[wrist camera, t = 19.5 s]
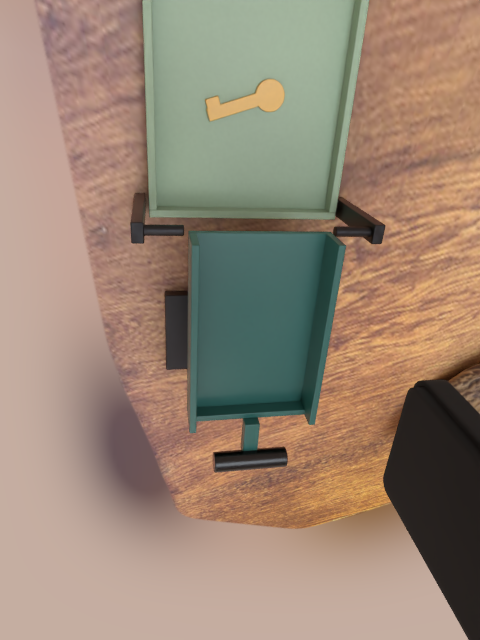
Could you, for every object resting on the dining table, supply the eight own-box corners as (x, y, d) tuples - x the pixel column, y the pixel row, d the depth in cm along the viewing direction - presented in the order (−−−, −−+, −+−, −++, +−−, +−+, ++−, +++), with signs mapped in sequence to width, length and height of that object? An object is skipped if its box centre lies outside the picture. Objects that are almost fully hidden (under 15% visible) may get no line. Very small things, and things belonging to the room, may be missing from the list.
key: (287, 107, 34) (286, 106, 35) (281, 75, 33) (279, 74, 33) (212, 130, 34) (211, 130, 34) (203, 99, 33) (203, 99, 33)
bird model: (415, 473, 53) (410, 475, 48) (382, 429, 55) (374, 428, 51) (579, 361, 48) (590, 353, 44) (535, 319, 51) (540, 308, 47)
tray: (328, 214, 40) (335, 219, 38) (149, 212, 37) (149, 217, 36) (382, -142, 29) (393, -153, 28) (136, -182, 26) (135, -196, 25)
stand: (317, 357, 47) (347, 408, 40) (142, 365, 44) (140, 422, 36) (343, 197, 39) (386, 225, 32) (134, 192, 36) (130, 222, 29)
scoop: (298, 439, 41) (309, 468, 38) (186, 447, 40) (189, 479, 37) (330, 231, 32) (349, 248, 29) (188, 230, 31) (192, 248, 27)
